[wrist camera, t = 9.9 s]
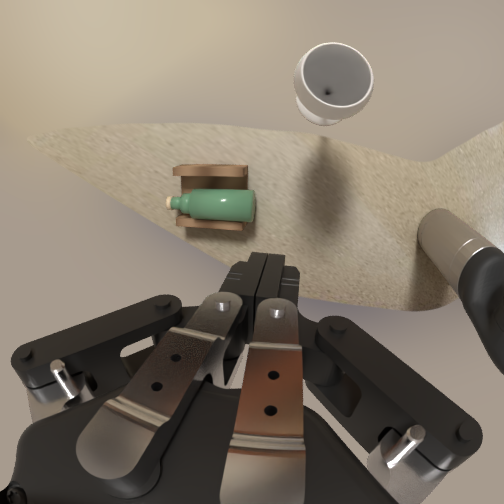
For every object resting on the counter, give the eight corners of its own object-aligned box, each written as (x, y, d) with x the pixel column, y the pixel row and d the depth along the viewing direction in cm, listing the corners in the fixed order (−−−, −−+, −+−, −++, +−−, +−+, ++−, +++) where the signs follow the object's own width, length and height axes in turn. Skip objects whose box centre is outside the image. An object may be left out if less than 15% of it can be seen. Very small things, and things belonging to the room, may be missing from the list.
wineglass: (345, 131, 40) (377, 131, 21) (292, 119, 41) (281, 109, 22) (353, 82, 36) (389, 47, 17) (300, 71, 37) (295, 25, 18)
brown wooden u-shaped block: (247, 165, 45) (242, 168, 42) (246, 223, 50) (242, 230, 46) (181, 164, 47) (172, 167, 44) (184, 219, 51) (176, 225, 48)
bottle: (248, 203, 41) (159, 200, 44) (251, 228, 45) (167, 223, 47) (254, 183, 44) (171, 182, 47) (256, 208, 48) (177, 205, 51)
